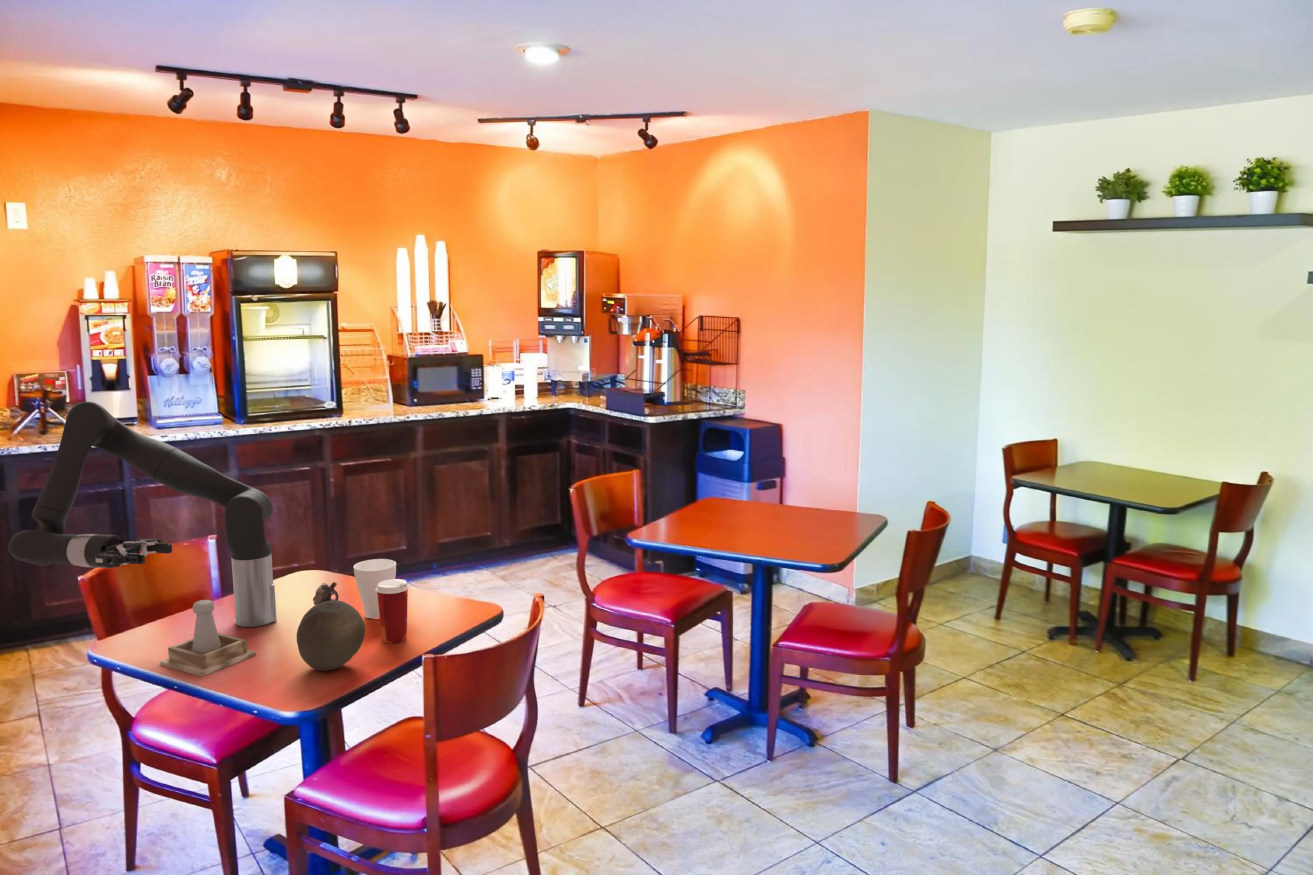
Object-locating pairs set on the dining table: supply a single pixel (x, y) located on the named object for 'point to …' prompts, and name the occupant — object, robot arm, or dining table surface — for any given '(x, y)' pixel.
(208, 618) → the salt shaker
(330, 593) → the figurine
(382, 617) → the paper cup
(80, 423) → the robot arm
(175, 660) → the tray
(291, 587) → the dining table surface
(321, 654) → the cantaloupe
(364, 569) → the cup
